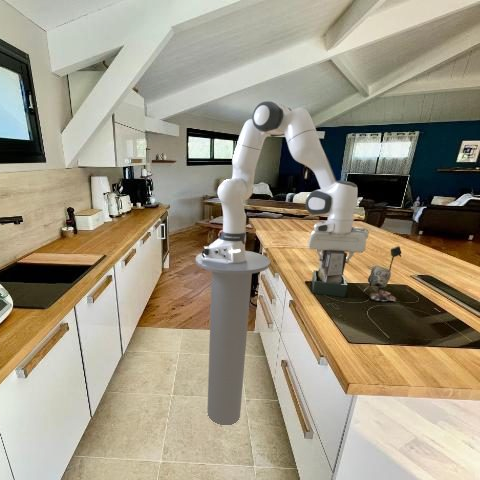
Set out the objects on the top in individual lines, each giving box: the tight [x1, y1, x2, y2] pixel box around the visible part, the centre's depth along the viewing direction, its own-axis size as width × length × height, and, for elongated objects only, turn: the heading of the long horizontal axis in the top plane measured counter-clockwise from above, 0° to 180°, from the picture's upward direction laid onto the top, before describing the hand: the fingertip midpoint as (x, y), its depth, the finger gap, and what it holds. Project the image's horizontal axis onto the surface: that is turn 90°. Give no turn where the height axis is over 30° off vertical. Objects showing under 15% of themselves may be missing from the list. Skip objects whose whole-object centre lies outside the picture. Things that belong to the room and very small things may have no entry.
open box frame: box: [311, 269, 348, 298], centre depth 126 cm, size 12×15×5 cm
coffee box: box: [317, 250, 348, 284], centre depth 124 cm, size 9×6×16 cm
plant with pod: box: [362, 245, 402, 302], centre depth 115 cm, size 8×11×20 cm
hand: (333, 261), depth 123 cm, fingers open, 8 cm apart
